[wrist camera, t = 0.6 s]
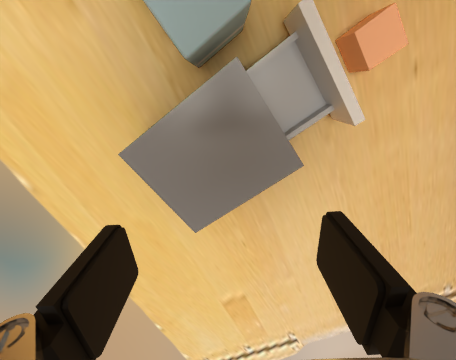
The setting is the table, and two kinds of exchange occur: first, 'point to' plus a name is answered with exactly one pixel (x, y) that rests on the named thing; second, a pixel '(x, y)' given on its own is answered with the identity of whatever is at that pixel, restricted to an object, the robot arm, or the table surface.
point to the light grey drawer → (305, 76)
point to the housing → (213, 149)
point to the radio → (200, 24)
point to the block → (373, 39)
